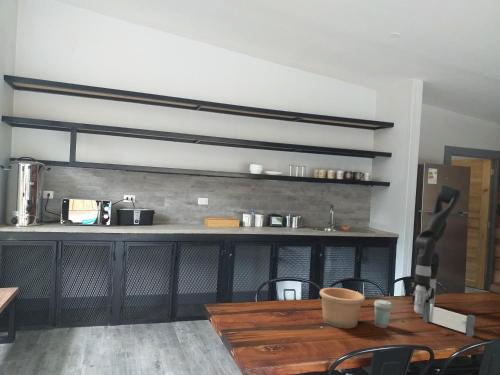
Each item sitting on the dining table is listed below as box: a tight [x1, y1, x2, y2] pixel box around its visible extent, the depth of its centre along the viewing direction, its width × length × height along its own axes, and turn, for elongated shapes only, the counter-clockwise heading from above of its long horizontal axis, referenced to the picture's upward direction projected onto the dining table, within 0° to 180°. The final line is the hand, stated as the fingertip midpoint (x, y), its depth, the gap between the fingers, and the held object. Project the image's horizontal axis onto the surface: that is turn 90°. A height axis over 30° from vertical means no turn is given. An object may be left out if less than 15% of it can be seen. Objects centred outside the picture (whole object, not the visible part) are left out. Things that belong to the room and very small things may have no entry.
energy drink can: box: [413, 285, 428, 315], centre depth 206 cm, size 6×6×15 cm
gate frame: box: [422, 302, 476, 338], centre depth 192 cm, size 24×2×10 cm, turn 41°
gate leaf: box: [428, 303, 468, 334], centre depth 192 cm, size 18×2×9 cm, turn 41°
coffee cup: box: [373, 299, 393, 329], centre depth 189 cm, size 8×8×12 cm
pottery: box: [319, 287, 366, 329], centre depth 189 cm, size 22×22×14 cm
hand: (420, 304), depth 206 cm, fingers closed on energy drink can, 6 cm apart
